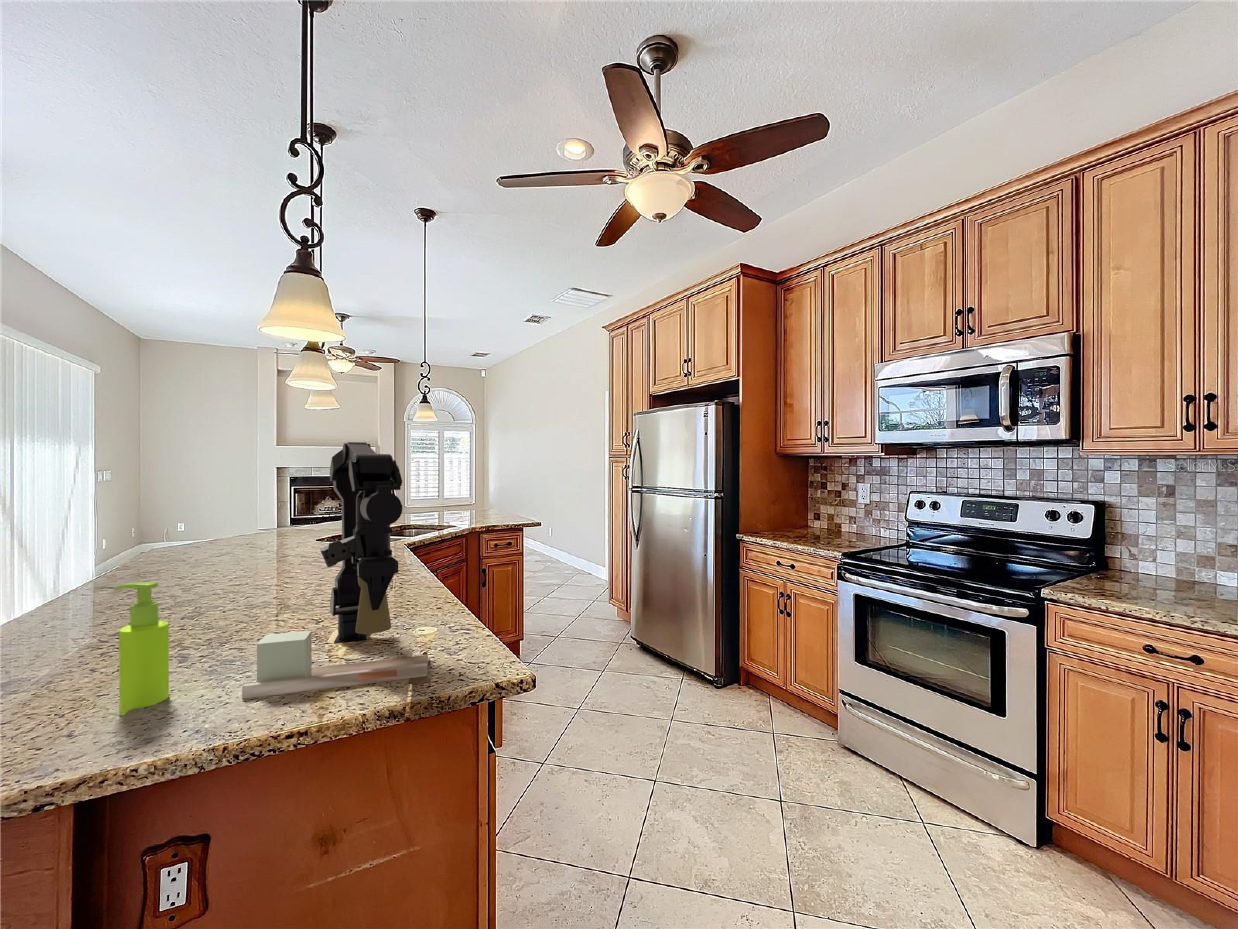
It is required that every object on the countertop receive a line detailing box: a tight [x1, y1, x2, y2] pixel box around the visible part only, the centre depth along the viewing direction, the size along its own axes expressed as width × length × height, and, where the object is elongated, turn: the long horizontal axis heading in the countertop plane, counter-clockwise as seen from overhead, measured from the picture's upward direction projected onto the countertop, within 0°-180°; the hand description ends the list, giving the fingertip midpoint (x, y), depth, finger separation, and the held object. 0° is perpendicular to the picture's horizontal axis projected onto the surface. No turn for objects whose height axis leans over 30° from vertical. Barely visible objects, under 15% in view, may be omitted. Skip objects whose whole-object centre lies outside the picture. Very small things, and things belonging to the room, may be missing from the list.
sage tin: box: [256, 630, 313, 682], centre depth 91 cm, size 5×7×8 cm
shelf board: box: [241, 654, 429, 700], centre depth 95 cm, size 11×28×3 cm, turn 109°
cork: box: [355, 577, 392, 635], centre depth 98 cm, size 6×6×11 cm
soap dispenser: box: [112, 581, 170, 717], centre depth 85 cm, size 6×7×20 cm
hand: (373, 607), depth 98 cm, fingers closed on cork, 4 cm apart
